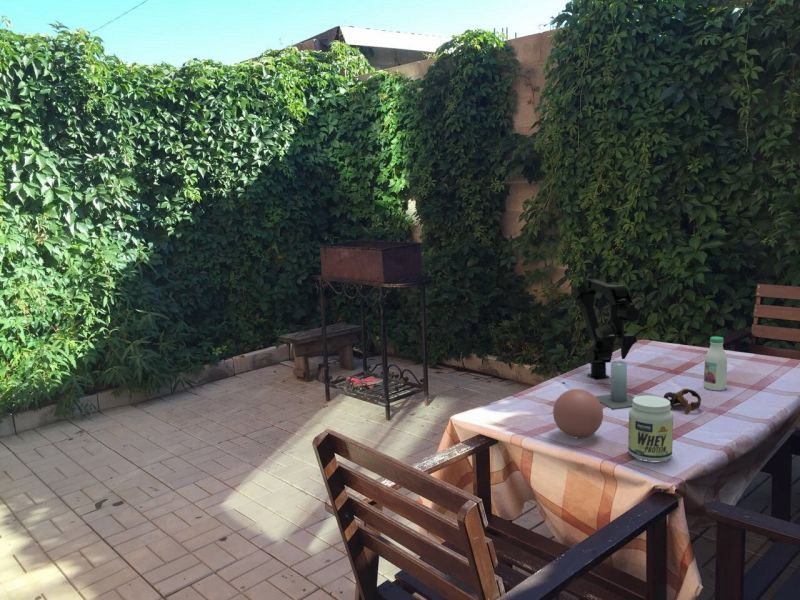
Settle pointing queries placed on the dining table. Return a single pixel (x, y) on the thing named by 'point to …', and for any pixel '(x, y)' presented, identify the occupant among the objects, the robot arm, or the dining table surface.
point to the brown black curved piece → (679, 399)
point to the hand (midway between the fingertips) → (616, 356)
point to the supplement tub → (650, 428)
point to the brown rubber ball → (578, 413)
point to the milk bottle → (715, 365)
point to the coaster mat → (615, 405)
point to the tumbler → (618, 381)
